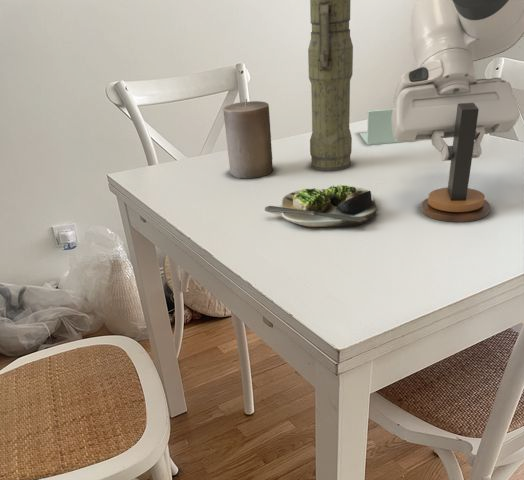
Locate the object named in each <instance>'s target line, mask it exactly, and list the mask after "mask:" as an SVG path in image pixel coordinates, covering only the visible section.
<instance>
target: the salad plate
mask: <svg viewBox="0 0 524 480" xmlns="http://www.w3.org/2000/svg"><path fill="white" fill-rule="evenodd" d="M264 211H265V212H267V213H270V214H273V215H277V216H278V217H281V218H283V219H284V220H285V221H288V222H291V223H292V224H293V223H294V224H296V225H300V226H304V227H307V228H331V227H332V228H335V227H336V228H337V227H339V228H343V227H355V226H360V225H364V224H366V223H368V222H370V221H371V220H372V219H373V218H374V217H375V215H376V213H377V211H378V206H377V203H376V201H375V198H374V196H373V194H372V191H371V190H368V189H366V188H364V187H358V186H353V185H352V186H350V185H340V184H337V185H336V186H335V185H331V186H329V187H328V188H320V189H319V188H315V187H313V188H302V189H299V190H295V191H292V192H290V193H288V194H285V195H284V196H283V197H282V198H281V203H280V206H275V205H268V206H265V207H264Z"/></svg>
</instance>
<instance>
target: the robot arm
mask: <svg viewBox="0 0 524 480" xmlns="http://www.w3.org/2000/svg"><path fill="white" fill-rule="evenodd" d="M409 25H410V26H409V27H410V40H411V46H412V47H411V48H412V54H413V56H414V59H415V61H416V62H417V67H414V68H413V69H410V70H408V71H405V72H403V74H402V75H401V76H400V78H399V79H398V82H397V85H396V87H395V89H394V93H393V97H392V103H393V108H392V109H393V112H392V133H393V137H394V139H395V140H397V141H398V142H397V143H408V142H417V141H429V140H431V141H430V142H431V145H432V146H433V147H434V148H435V149H436V150H437V151H438V152H439V153H440V156H441V157H440V158H441V160H442V162H446V161H447V162H448V161H449V162H450V161H451V160H452V158H454V151H453V150H454V148H453V145H448V143H447V142H446V141H445V140H444V139H448V138H454V131H455V123H456V114H457V106H458V104H459V103H474V104H475V105H476V106H477V108H478V109H479V111H478V118H477V125H476V133H475V141H474V148H473V155H472V159H478V158H480V156H481V155H482V147H481V144H482V141H483V139H484V135H489V134H490V135H492V134H501V133H509V132H510V131H511V130H513V128H514V126H515V125H516V124H517V122H518V121H519V119H520V116H521V112H520V109H519V106H518V103H517V100H516V97H515V95H514V93H513V88H512V85H511V83H510V82H509V81H506V80H504V79H502V78H501V77H492V78H478V79H477V74H476V70H475V65H474V62H477V61H481V60H484V59H487V58H490V57H493V56H496V55H497V56H498V55H499V54H502V53H505V52H506V51H508V50H510V49H511V48H513V46H515V45H516V44H517V43H518V42H519V41H520V40H521V38H522V37H523V36H524V0H417V1H416V3H415V4H414V6H413V9H412V11H411V15H410V24H409Z"/></svg>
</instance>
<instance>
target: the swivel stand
mask: <svg viewBox="0 0 524 480" xmlns="http://www.w3.org/2000/svg"><path fill="white" fill-rule="evenodd" d="M490 208H491V205H490V203H489V201H487V200H486V199H485V200H484V205H483V206H482V207H481V208H479V209H477V210H473V211H467V212H448V211H442V210H438V209H435V208H433V207H431V206H430V205H429V204H428V197H427V198H425V199H424V200H423V201H422V202H421V208H420V210H421V213H422V214H423V215H424V216H426V217H428V218H430V219H432V220H437V221H442V222H447V223H448V222H449V223H450V222H451V223H465V222H466V223H467V222H473V221H478V220H482V219H483V218H485V217H487V216H488V215H489V213H490Z"/></svg>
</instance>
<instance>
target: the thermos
mask: <svg viewBox="0 0 524 480" xmlns="http://www.w3.org/2000/svg"><path fill="white" fill-rule="evenodd" d="M309 8H310V9H309V11H310V15H309V16H310V24H311V32H310V41H309V45H308V49H307V58H308V59H307V60H308V63H307V64H308V80H309V82H310V88H311V89H310V90H311V131H312V132H311V136H310V140H309V154H310V157H311V159H310V160H311V164H310V166H311V169H313V170H315V171H316V170H317V171H319V172H320V171H321V172H333V171H334V172H335V171H340V170H341V171H342V170H345V169H348V168H349V167H351V163H352V162H351V154H352V152H353V151H352V147H353V142H352V141H353V137H352V132H351V129H350V114H351V113H350V112H351V111H350V110H351V109H350V108H351V107H350V106H351V105H350V104H351V80H352V77H353V69H354V68H353V66H354V63H353V61H354V44H353V41H352V38H351V28H350V21H351V0H309Z"/></svg>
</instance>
